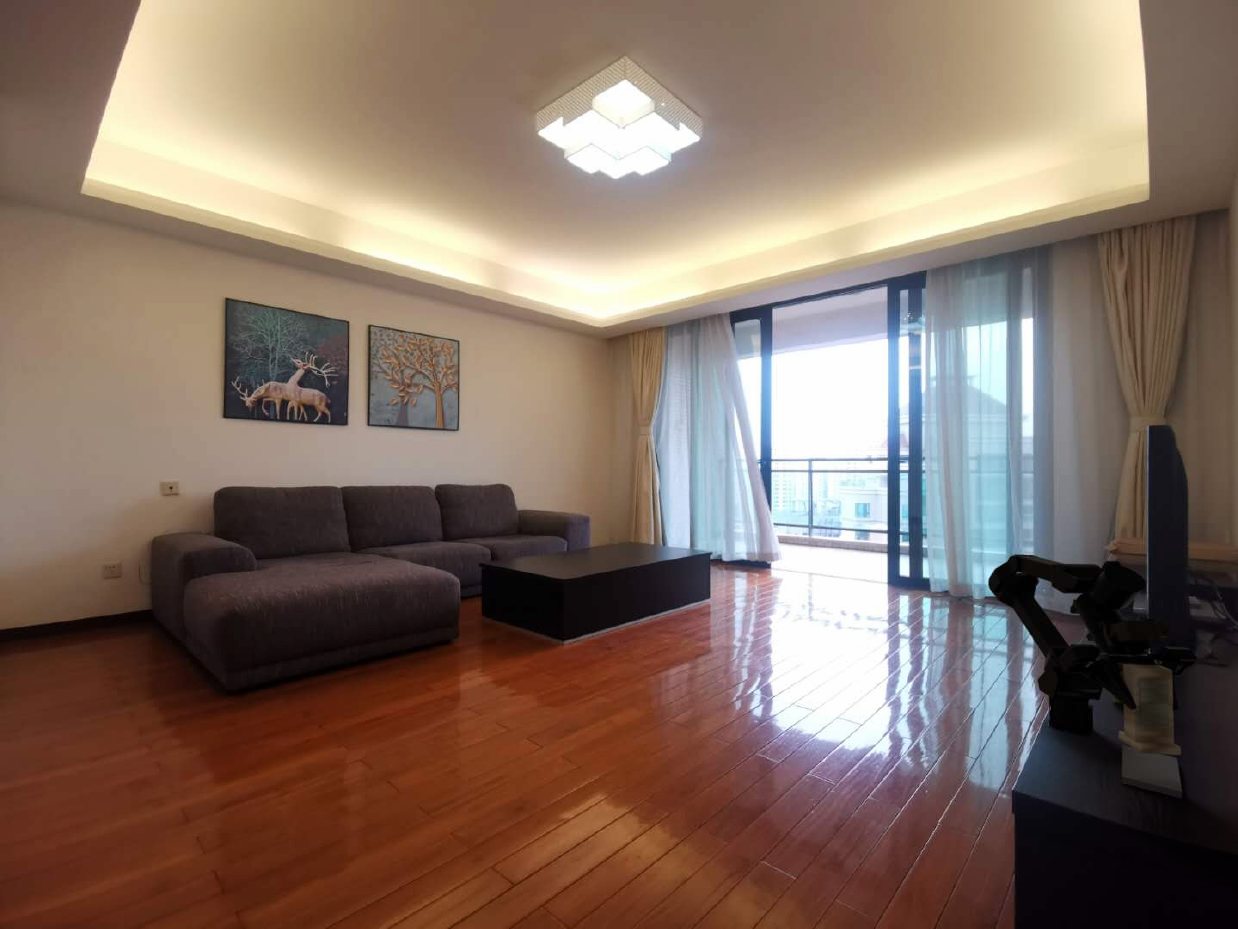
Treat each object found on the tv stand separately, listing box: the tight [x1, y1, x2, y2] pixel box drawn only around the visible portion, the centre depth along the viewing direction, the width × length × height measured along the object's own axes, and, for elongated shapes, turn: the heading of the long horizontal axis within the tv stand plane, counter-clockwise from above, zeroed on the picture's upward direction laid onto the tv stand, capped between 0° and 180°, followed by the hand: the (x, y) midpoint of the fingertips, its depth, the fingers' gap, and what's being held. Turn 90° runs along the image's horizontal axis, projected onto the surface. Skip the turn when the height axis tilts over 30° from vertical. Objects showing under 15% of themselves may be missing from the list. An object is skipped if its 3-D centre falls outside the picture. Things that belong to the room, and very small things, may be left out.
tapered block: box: [1118, 664, 1182, 756], centre depth 93 cm, size 6×5×13 cm
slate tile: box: [1121, 745, 1183, 796], centre depth 95 cm, size 7×14×1 cm, turn 138°
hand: (1154, 709), depth 92 cm, fingers closed on tapered block, 6 cm apart
